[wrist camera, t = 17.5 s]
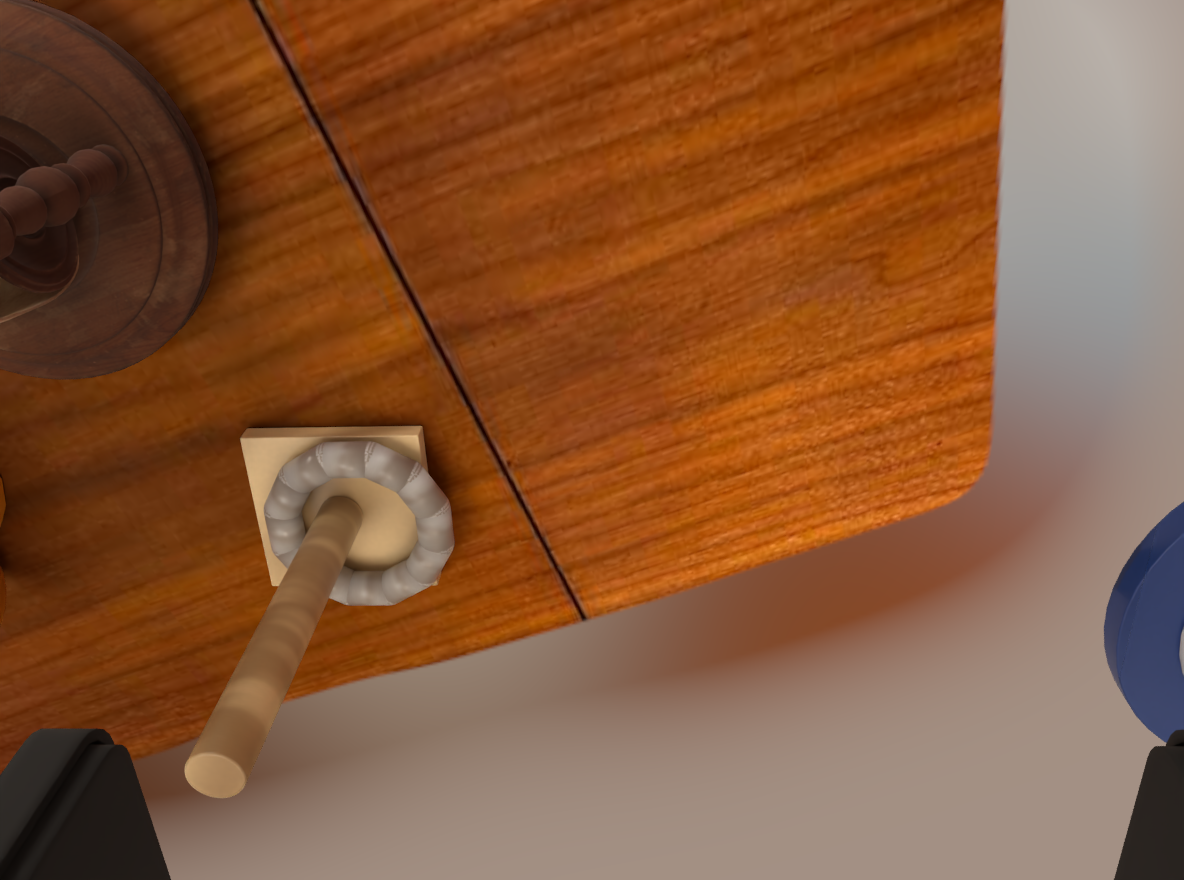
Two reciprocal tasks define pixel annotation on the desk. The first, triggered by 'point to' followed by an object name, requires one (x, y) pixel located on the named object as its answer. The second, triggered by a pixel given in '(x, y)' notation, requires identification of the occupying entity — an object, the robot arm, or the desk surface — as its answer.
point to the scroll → (93, 202)
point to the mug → (0, 581)
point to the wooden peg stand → (300, 587)
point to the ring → (387, 472)
